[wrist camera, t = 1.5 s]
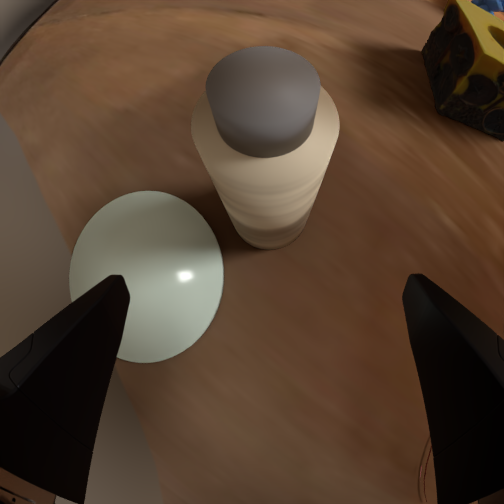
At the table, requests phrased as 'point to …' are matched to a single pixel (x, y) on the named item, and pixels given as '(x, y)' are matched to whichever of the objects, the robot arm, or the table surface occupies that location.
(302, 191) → the pepper mill
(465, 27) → the black and yellow cube
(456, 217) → the table surface
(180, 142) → the table surface
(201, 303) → the pale green coaster
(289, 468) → the table surface
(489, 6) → the grapes
